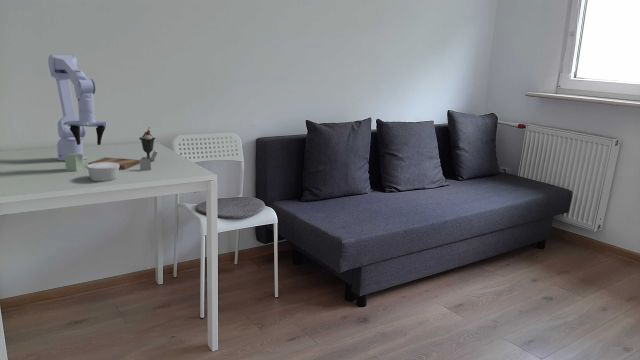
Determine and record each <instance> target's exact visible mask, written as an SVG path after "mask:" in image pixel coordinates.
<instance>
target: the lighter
mask: <svg viewBox="0 0 640 360" xmlns="http://www.w3.org/2000/svg"><path fill="white" fill-rule="evenodd" d="M153 150H154V151H152V154H151V156H150V158H151V159H148V157H147V156H142V157H141V158H140V159H139V160H140V163H139V168H140V169H139V170H140V171H151V170H152V164H151V163H152V162H154V161H155V159H156V158H157V155H158V153H159V151H158V150H156V149H153ZM151 160H153V161H152V162H151Z"/></svg>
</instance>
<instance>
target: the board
mask: <svg viewBox="0 0 640 360" xmlns="http://www.w3.org/2000/svg"><path fill="white" fill-rule="evenodd" d="M100 162H114V163H118V164H119V165H120V167H119V170H127V169H130V168H132V167H135V166H137V165H140V159H132V158H130V159H129V158H120V157H119V158H118V157H102V158H99V159H96V160H93V161H91V162H88V163H87V164H88V165H89V164H93V163H100ZM88 165H87V166H88Z"/></svg>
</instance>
